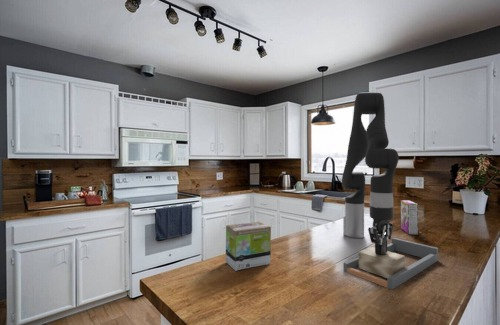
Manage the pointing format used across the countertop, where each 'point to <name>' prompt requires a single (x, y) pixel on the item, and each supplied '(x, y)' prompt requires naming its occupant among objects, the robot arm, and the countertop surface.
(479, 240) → the countertop surface
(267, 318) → the countertop surface
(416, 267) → the frame
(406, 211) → the candy bar box
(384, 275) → the beige block
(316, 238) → the countertop surface
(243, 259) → the tea box
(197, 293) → the countertop surface
